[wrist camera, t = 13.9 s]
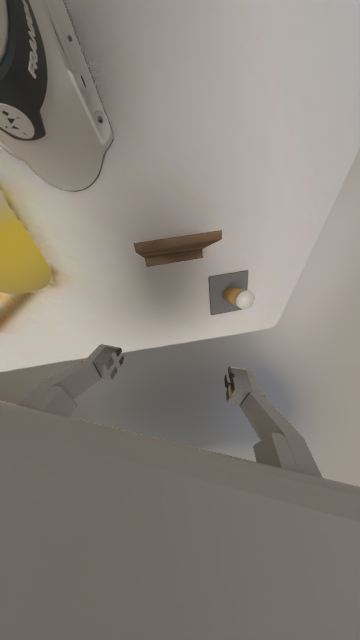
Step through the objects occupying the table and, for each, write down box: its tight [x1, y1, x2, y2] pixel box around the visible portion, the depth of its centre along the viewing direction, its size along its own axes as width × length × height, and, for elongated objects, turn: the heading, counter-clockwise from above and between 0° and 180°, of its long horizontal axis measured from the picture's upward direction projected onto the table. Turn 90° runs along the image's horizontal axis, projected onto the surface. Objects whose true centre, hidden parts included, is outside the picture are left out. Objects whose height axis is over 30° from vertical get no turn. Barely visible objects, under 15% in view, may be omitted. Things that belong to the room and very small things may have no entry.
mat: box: [209, 270, 248, 315], centre depth 37 cm, size 11×11×1 cm
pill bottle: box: [222, 287, 255, 309], centre depth 33 cm, size 4×4×8 cm
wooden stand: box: [134, 230, 222, 267], centre depth 26 cm, size 5×14×12 cm, turn 99°
